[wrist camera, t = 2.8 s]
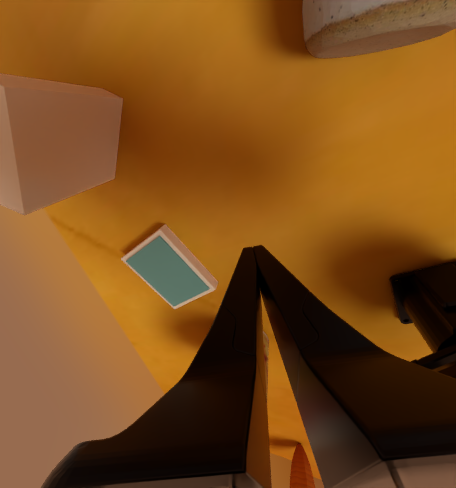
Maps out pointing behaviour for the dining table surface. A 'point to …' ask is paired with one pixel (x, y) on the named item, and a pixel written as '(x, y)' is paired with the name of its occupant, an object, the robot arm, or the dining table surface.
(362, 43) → the ceramic mug
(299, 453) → the carrot
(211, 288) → the flat tile
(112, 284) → the dining table surface
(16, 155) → the tile
